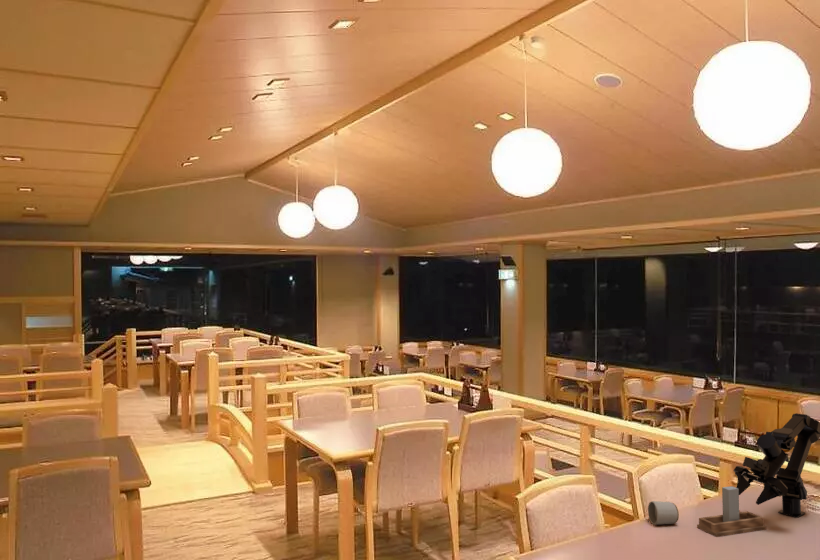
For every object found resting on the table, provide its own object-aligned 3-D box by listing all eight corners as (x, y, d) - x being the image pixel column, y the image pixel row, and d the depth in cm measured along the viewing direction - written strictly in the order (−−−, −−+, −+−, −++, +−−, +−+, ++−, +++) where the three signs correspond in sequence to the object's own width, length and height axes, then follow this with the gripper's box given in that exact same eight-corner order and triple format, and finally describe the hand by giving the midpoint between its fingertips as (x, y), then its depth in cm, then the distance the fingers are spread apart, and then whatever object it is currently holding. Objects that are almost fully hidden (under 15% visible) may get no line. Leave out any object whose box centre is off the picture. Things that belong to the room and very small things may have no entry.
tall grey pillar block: (732, 523, 221) (731, 486, 221) (739, 526, 218) (738, 488, 218) (723, 524, 220) (722, 487, 220) (729, 527, 217) (728, 490, 217)
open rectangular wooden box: (745, 520, 226) (745, 510, 226) (766, 529, 218) (765, 518, 218) (697, 527, 221) (696, 517, 221) (716, 536, 212) (716, 526, 212)
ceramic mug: (680, 526, 222) (679, 503, 222) (657, 528, 221) (656, 505, 221) (665, 516, 232) (664, 494, 233) (643, 517, 232) (642, 495, 232)
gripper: (736, 442, 232) (711, 477, 229) (779, 455, 214) (753, 492, 211) (755, 462, 234) (731, 497, 231) (799, 476, 216) (773, 514, 213)
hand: (746, 499), depth 221 cm, fingers open, 9 cm apart
